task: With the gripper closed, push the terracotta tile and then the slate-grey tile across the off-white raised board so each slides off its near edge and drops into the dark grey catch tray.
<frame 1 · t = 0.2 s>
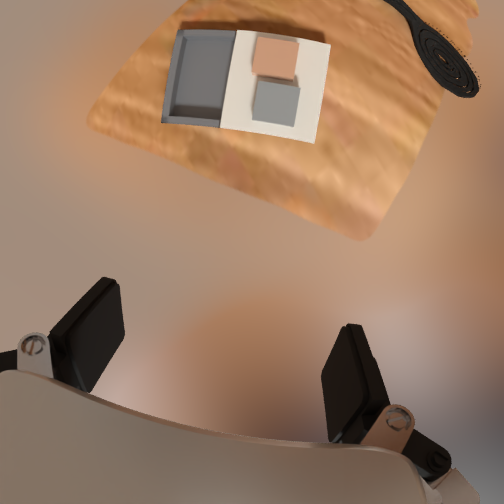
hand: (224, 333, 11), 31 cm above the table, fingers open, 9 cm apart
hairbrush: (417, 33, 27), on the table
board: (275, 86, 33), on the table
catch tray: (201, 78, 33), on the table
terracotta tile: (275, 60, 29), point 3 cm above the table, touching board
slate tile: (276, 105, 32), point 3 cm above the table, touching board
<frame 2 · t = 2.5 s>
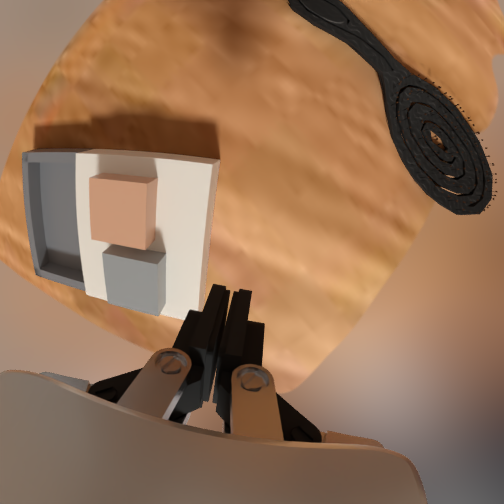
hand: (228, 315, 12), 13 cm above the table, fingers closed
hairbrush: (396, 92, 19), on the table
board: (147, 228, 25), on the table
catch tray: (64, 214, 25), on the table
terracotta tile: (128, 205, 21), point 3 cm above the table, touching board
slate tile: (139, 273, 23), point 3 cm above the table, touching board
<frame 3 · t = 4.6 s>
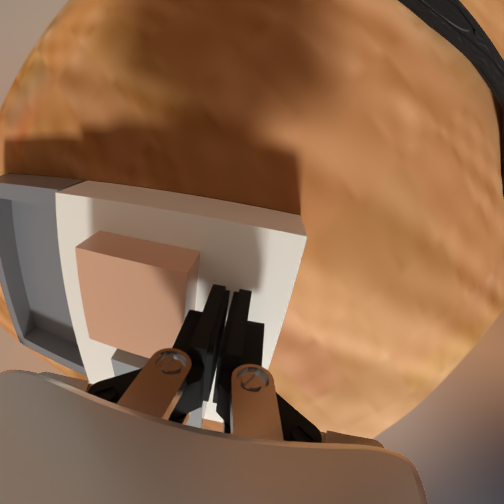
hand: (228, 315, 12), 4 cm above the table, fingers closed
board: (174, 306, 17), on the table
catch tray: (48, 270, 17), on the table
terracotta tile: (145, 288, 13), point 3 cm above the table, touching gripper
slate tile: (167, 375, 15), point 3 cm above the table, touching board
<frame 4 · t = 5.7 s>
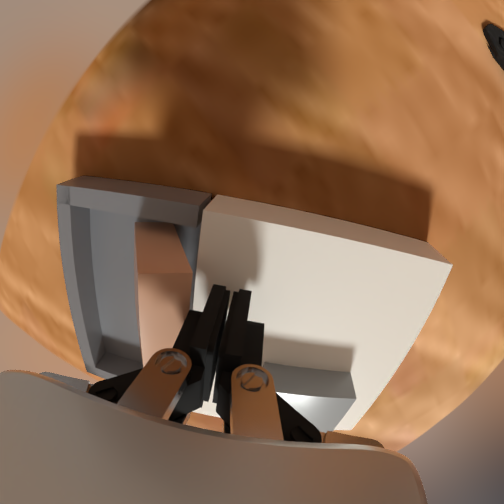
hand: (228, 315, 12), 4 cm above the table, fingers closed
board: (299, 326, 17), on the table
catch tray: (138, 292, 17), on the table
terracotta tile: (177, 290, 13), point 3 cm above the table, tilted 63°, touching catch tray, gripper
slate tile: (296, 394, 15), point 3 cm above the table, touching board
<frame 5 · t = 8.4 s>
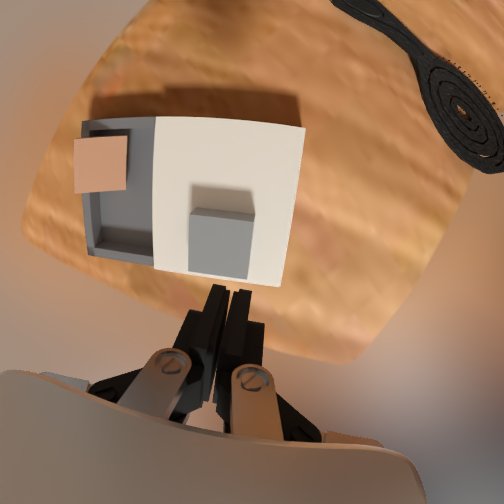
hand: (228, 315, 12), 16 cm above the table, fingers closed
hairbrush: (425, 73, 19), on the table
board: (225, 195, 26), on the table
catch tray: (126, 187, 26), on the table
terracotta tile: (99, 164, 22), point 4 cm above the table, tilted 150°, touching catch tray
slate tile: (223, 238, 24), point 3 cm above the table, touching board
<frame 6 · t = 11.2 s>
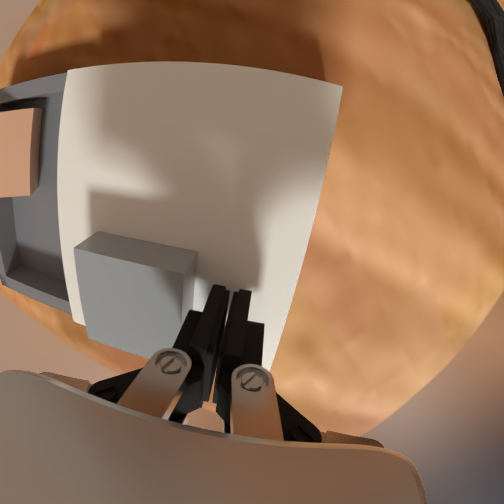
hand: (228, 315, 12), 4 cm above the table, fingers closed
hairbrush: (496, 46, 8), on the table
board: (183, 210, 14), on the table
catch tray: (42, 189, 14), on the table
slate tile: (143, 288, 13), point 3 cm above the table
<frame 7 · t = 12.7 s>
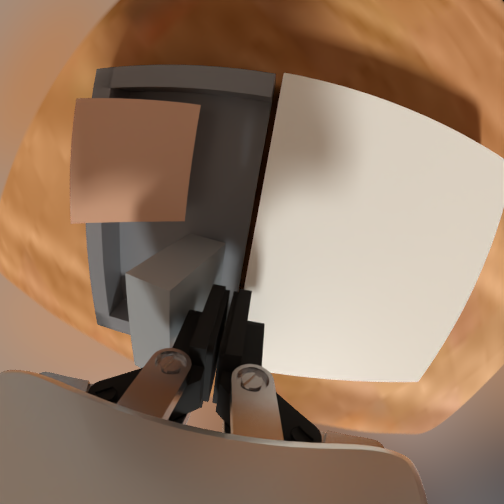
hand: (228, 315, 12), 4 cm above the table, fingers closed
board: (366, 246, 14), on the table
catch tray: (174, 209, 14), on the table
terracotta tile: (130, 161, 10), point 4 cm above the table, tilted 150°, touching catch tray
slate tile: (198, 312, 12), point 3 cm above the table, tilted 103°, touching catch tray
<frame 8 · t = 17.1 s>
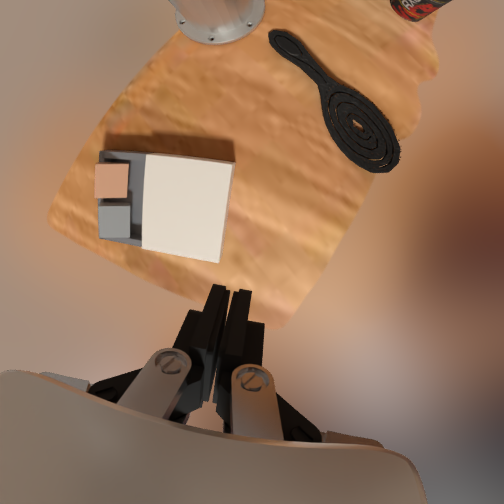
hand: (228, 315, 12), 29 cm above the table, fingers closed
deodorant: (406, 6, 25), on the table
hairbrush: (331, 96, 33), on the table
board: (188, 204, 40), on the table
catch tray: (126, 195, 40), on the table
terracotta tile: (111, 181, 36), point 4 cm above the table, tilted 150°, touching catch tray
slate tile: (114, 222, 39), point 3 cm above the table, tilted 155°, touching catch tray
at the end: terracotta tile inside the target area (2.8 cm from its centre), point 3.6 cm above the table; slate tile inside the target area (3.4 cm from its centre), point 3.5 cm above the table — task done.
